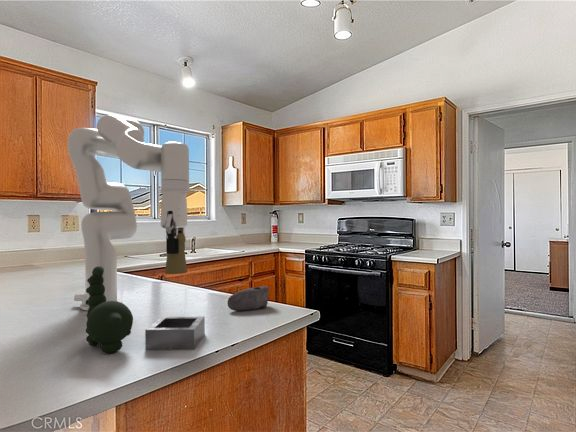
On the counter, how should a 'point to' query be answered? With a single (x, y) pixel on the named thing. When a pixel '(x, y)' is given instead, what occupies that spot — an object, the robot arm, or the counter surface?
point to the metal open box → (175, 333)
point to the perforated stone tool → (249, 299)
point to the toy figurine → (105, 316)
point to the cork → (177, 259)
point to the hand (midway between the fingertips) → (175, 251)
